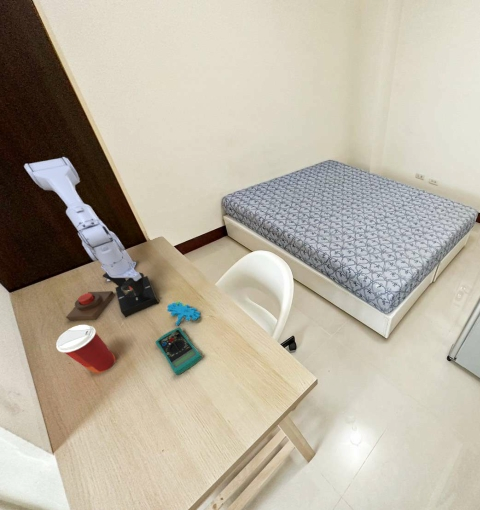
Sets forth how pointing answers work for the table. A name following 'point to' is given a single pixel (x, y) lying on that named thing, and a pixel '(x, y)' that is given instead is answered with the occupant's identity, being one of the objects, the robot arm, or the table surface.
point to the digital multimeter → (178, 350)
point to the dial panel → (137, 299)
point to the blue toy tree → (183, 311)
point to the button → (86, 298)
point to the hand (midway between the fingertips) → (132, 289)
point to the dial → (129, 291)
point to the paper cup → (86, 348)
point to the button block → (91, 307)
